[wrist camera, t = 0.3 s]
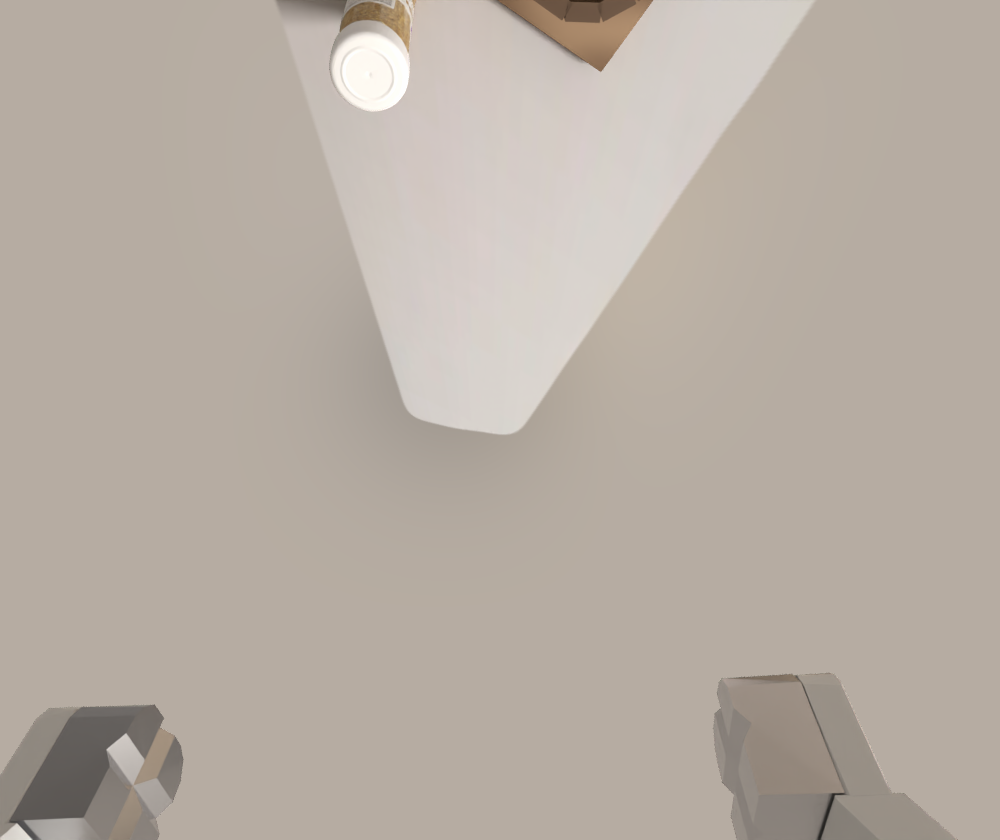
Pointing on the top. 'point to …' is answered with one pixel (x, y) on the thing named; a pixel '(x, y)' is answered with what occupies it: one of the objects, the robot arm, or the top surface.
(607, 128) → the top surface
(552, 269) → the top surface
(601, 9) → the walnut collar block
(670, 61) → the top surface
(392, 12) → the sprinkles bottle
